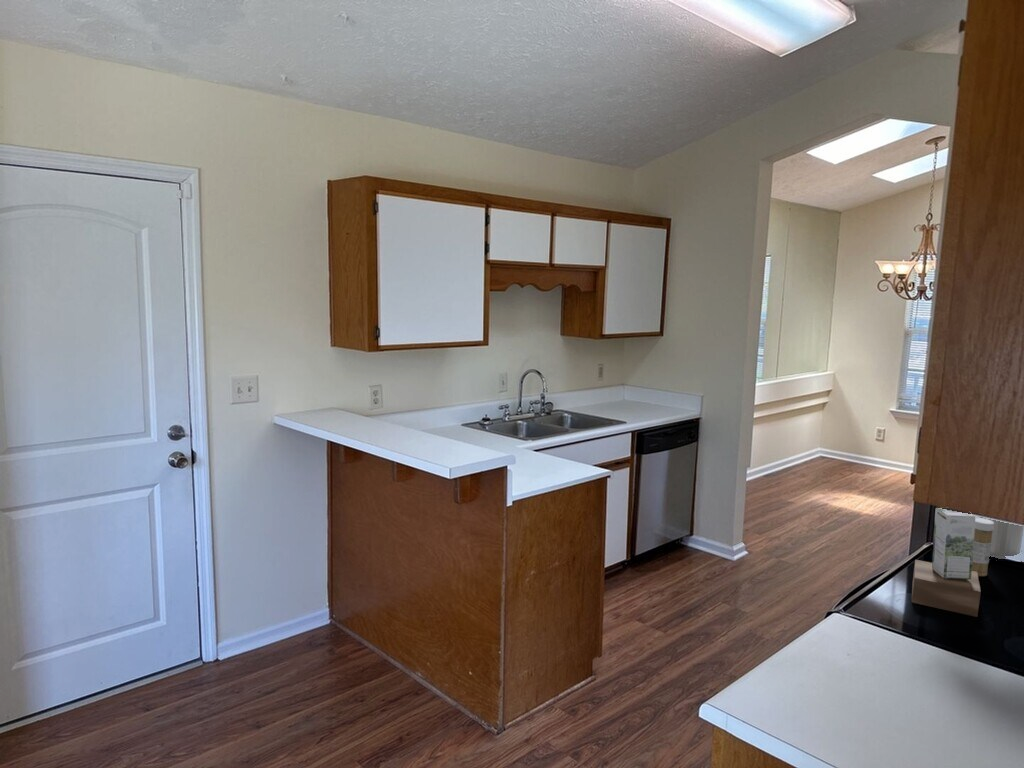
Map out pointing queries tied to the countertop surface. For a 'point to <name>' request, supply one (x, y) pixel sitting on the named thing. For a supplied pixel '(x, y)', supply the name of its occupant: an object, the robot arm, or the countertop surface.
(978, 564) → the sprinkles bottle
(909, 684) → the countertop surface
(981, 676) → the countertop surface
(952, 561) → the syrup box
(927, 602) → the walnut block
